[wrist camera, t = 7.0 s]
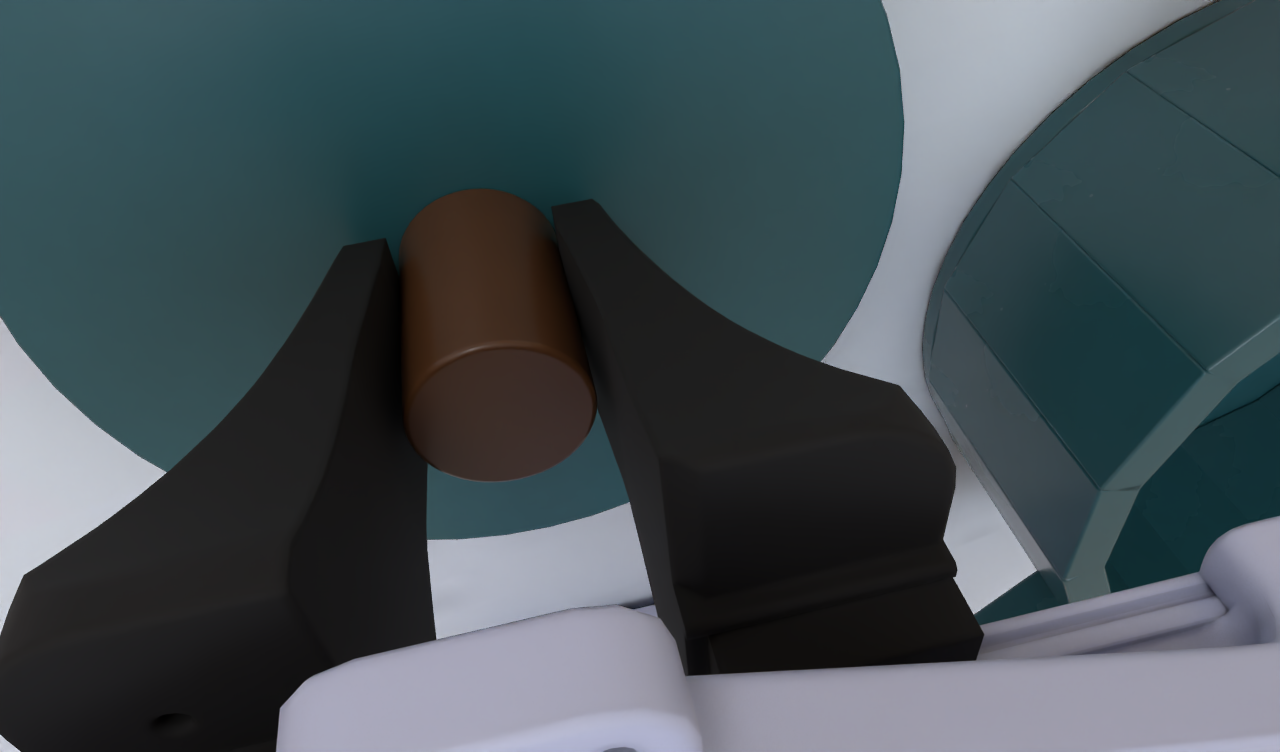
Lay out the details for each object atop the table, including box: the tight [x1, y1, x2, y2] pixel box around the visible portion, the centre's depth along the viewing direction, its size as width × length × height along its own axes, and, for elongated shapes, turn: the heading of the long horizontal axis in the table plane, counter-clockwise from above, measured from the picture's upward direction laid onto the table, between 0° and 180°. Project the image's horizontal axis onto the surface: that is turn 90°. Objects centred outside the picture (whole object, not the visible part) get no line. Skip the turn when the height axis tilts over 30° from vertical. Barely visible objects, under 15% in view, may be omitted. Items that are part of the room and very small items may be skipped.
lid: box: [0, 0, 904, 540], centre depth 13 cm, size 14×14×5 cm
